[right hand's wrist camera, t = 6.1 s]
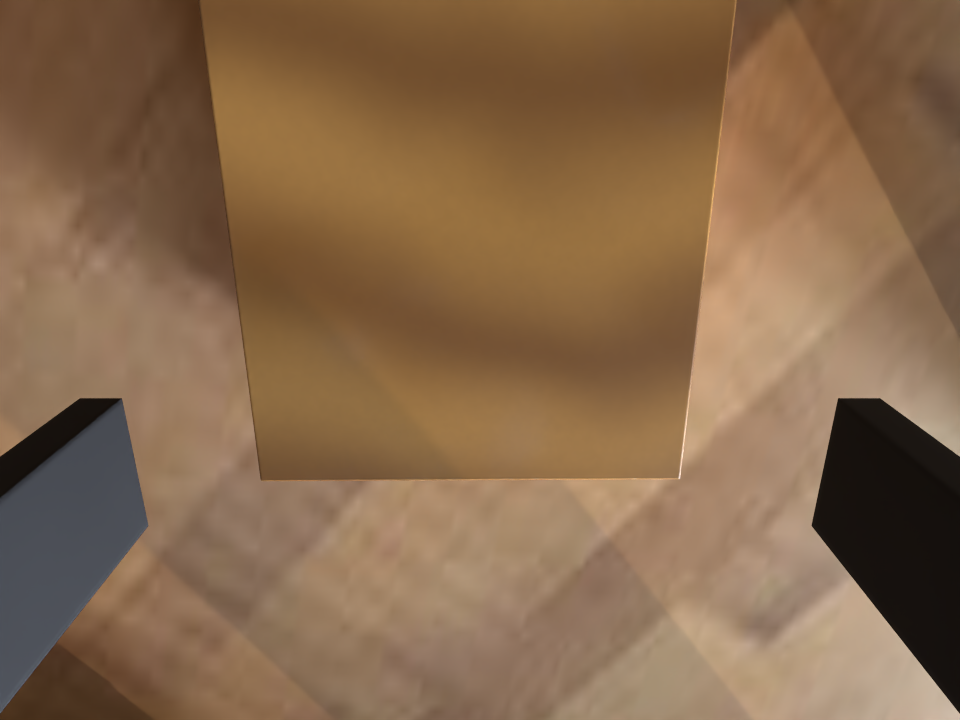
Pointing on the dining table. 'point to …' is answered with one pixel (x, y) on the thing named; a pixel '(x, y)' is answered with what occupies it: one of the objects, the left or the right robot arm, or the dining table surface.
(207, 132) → the dining table surface
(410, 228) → the cabinet
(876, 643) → the dining table surface
